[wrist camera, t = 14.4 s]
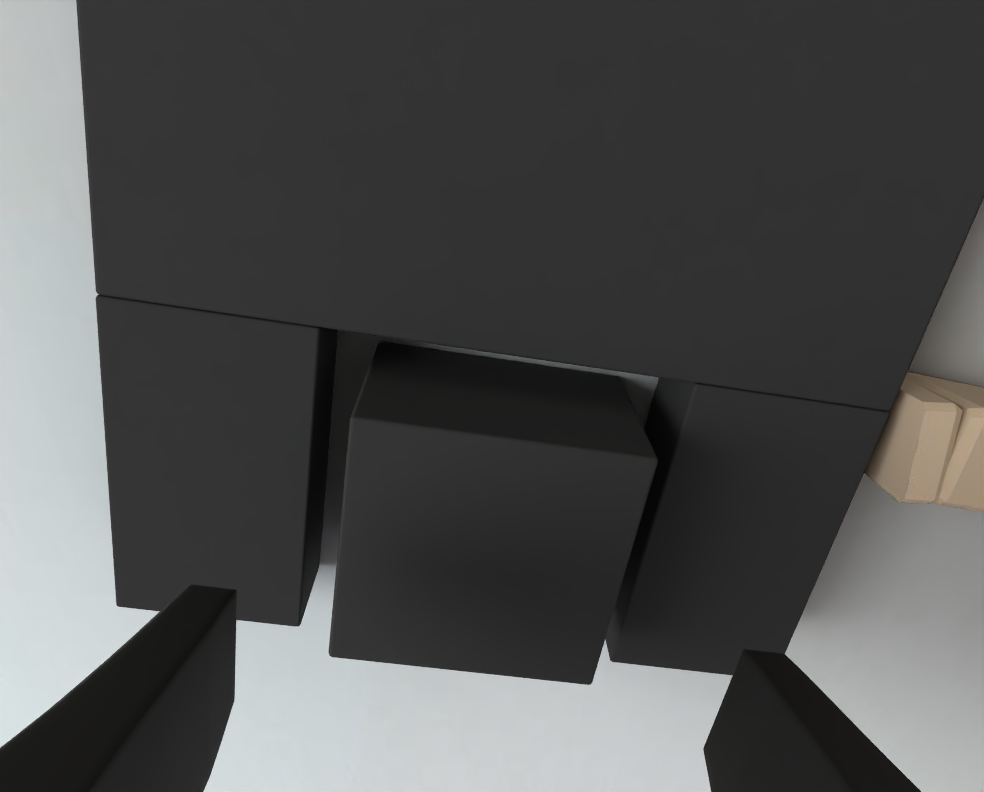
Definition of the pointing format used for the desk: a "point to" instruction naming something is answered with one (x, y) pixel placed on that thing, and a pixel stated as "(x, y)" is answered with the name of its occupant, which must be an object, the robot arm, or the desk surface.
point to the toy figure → (933, 444)
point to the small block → (486, 515)
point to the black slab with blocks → (522, 261)
